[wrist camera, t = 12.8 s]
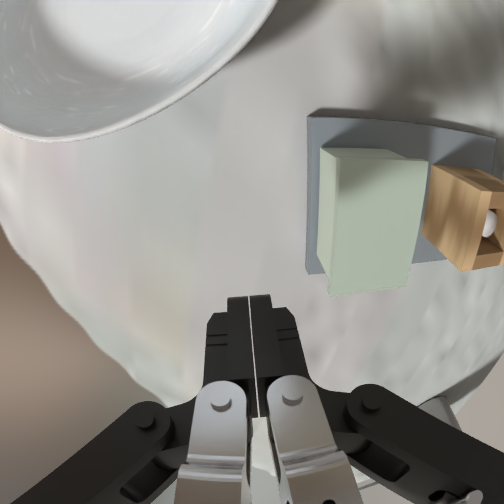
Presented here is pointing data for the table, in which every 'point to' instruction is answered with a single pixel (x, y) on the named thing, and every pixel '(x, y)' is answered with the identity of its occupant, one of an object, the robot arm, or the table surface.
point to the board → (403, 143)
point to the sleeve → (464, 216)
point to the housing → (368, 218)
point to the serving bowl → (111, 60)
